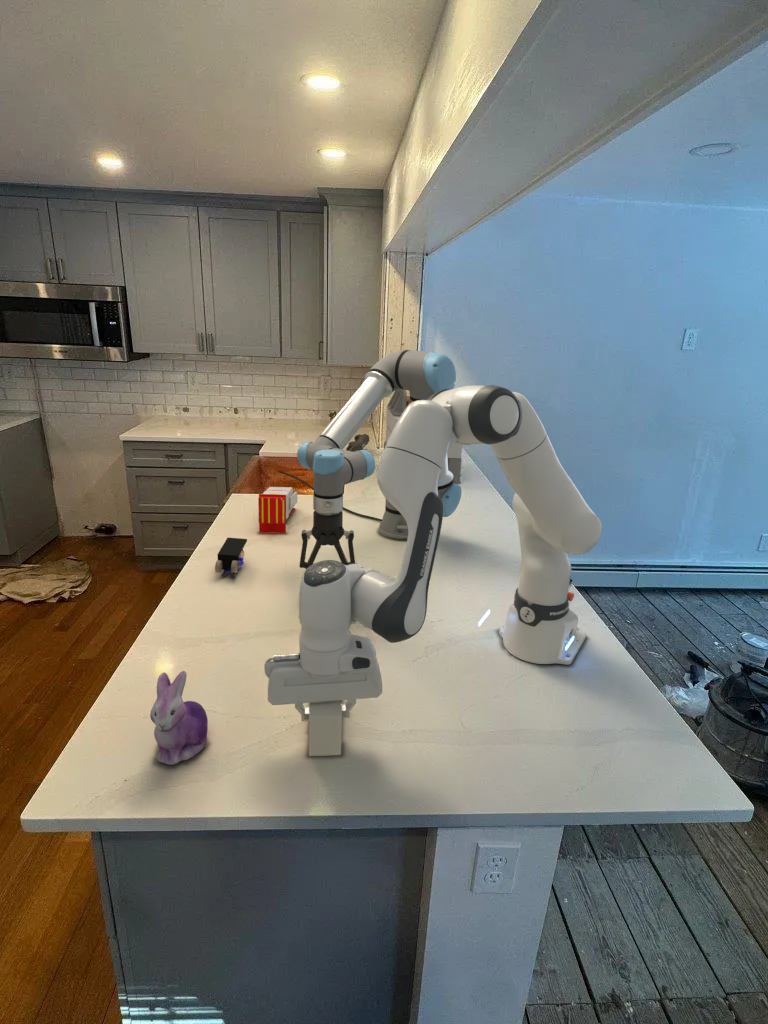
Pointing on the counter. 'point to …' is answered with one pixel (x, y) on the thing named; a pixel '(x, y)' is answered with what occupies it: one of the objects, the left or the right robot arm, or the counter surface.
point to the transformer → (395, 412)
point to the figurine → (177, 722)
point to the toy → (276, 509)
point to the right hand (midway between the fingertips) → (325, 717)
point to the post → (325, 728)
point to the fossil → (358, 443)
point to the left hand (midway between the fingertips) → (327, 590)
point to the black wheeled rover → (230, 556)
